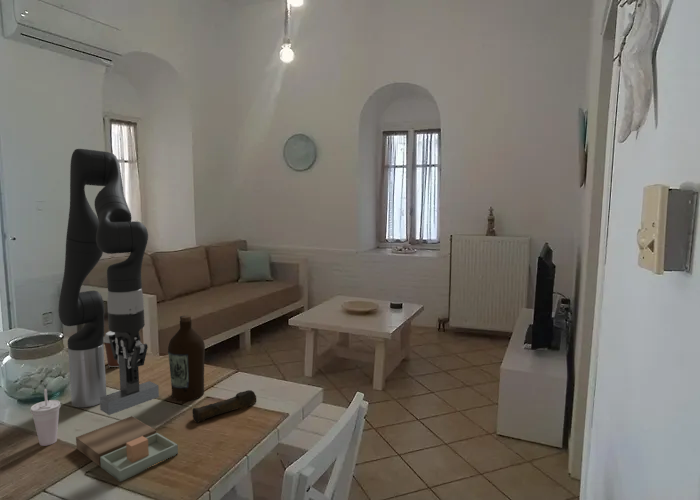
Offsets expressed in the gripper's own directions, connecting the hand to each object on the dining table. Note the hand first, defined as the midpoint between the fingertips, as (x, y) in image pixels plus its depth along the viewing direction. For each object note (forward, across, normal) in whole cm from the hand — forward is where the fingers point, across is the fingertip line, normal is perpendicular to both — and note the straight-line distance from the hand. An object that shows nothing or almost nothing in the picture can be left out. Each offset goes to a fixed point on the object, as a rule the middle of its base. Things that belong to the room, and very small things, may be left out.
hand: (129, 380), depth 111 cm
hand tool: (+19, -2, +28) cm, 34 cm away
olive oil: (+19, -20, +28) cm, 39 cm away
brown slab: (+19, -8, 0) cm, 20 cm away
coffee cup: (+19, -62, +27) cm, 70 cm away
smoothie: (+19, -23, -10) cm, 31 cm away
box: (+19, +3, 0) cm, 19 cm away
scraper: (+6, 0, 0) cm, 6 cm away
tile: (+16, +1, 0) cm, 16 cm away
